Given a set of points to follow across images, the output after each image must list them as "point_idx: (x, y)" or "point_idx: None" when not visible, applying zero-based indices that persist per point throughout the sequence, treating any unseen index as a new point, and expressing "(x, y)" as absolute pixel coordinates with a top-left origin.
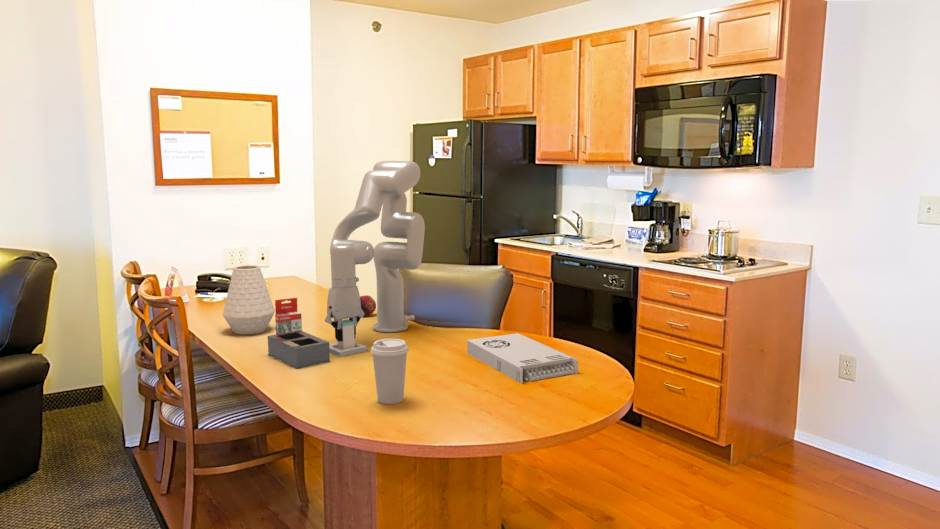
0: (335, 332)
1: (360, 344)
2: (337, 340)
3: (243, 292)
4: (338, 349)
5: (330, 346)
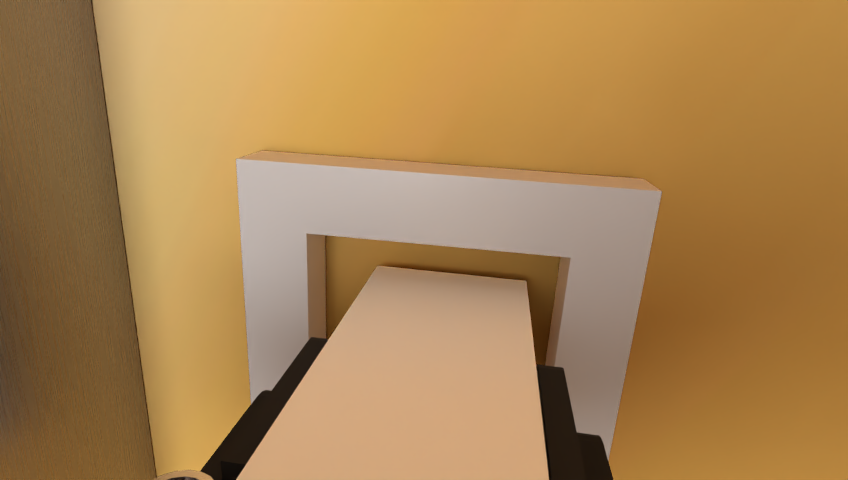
0: (224, 454)
1: (599, 434)
2: (350, 315)
3: None
4: None
5: (285, 250)
